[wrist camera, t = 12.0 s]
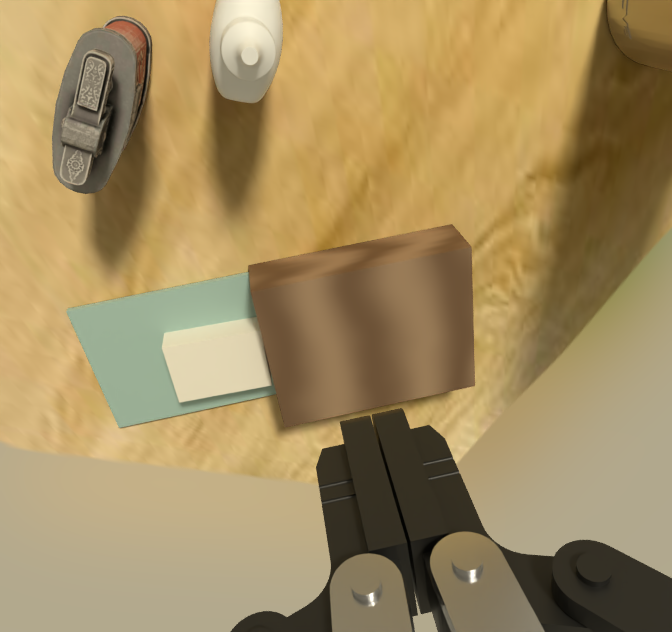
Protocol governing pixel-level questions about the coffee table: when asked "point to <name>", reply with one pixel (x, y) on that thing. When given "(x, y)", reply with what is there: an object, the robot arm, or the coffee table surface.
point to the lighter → (100, 102)
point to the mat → (156, 344)
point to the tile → (216, 359)
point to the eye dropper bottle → (245, 47)
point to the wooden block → (367, 323)
